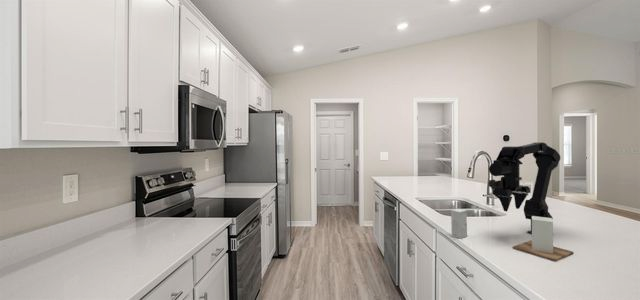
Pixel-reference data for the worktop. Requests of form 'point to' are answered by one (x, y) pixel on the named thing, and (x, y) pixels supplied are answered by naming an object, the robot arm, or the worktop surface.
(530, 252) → the flat brown board
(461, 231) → the skincare box
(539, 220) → the pale green box
